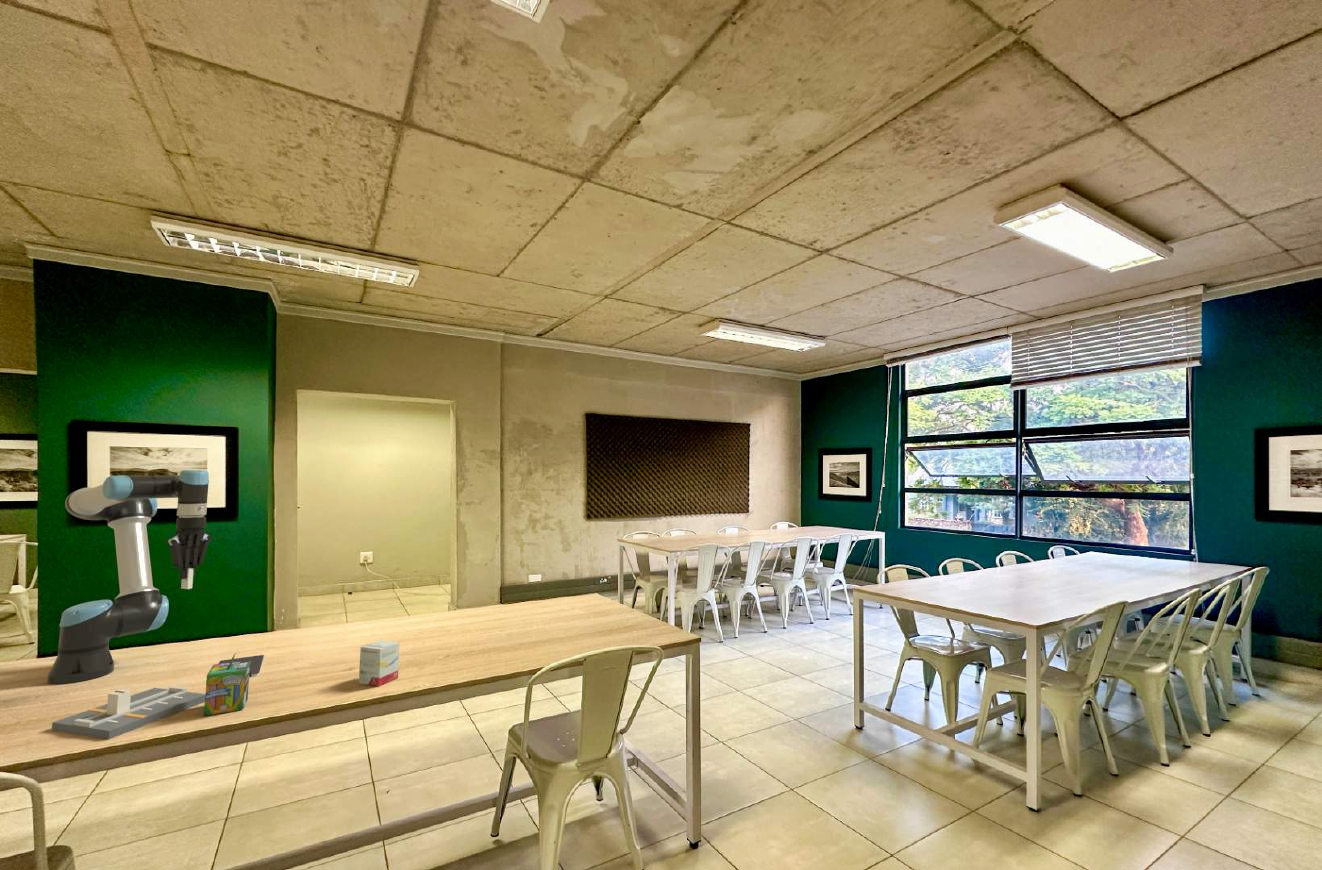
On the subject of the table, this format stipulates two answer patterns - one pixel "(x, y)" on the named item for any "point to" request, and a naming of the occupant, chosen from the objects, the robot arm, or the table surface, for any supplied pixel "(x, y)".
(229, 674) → the chalk box
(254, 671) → the notebook
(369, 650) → the ink box
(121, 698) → the fader tab
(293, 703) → the table surface
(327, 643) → the table surface
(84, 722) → the console
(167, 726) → the table surface
